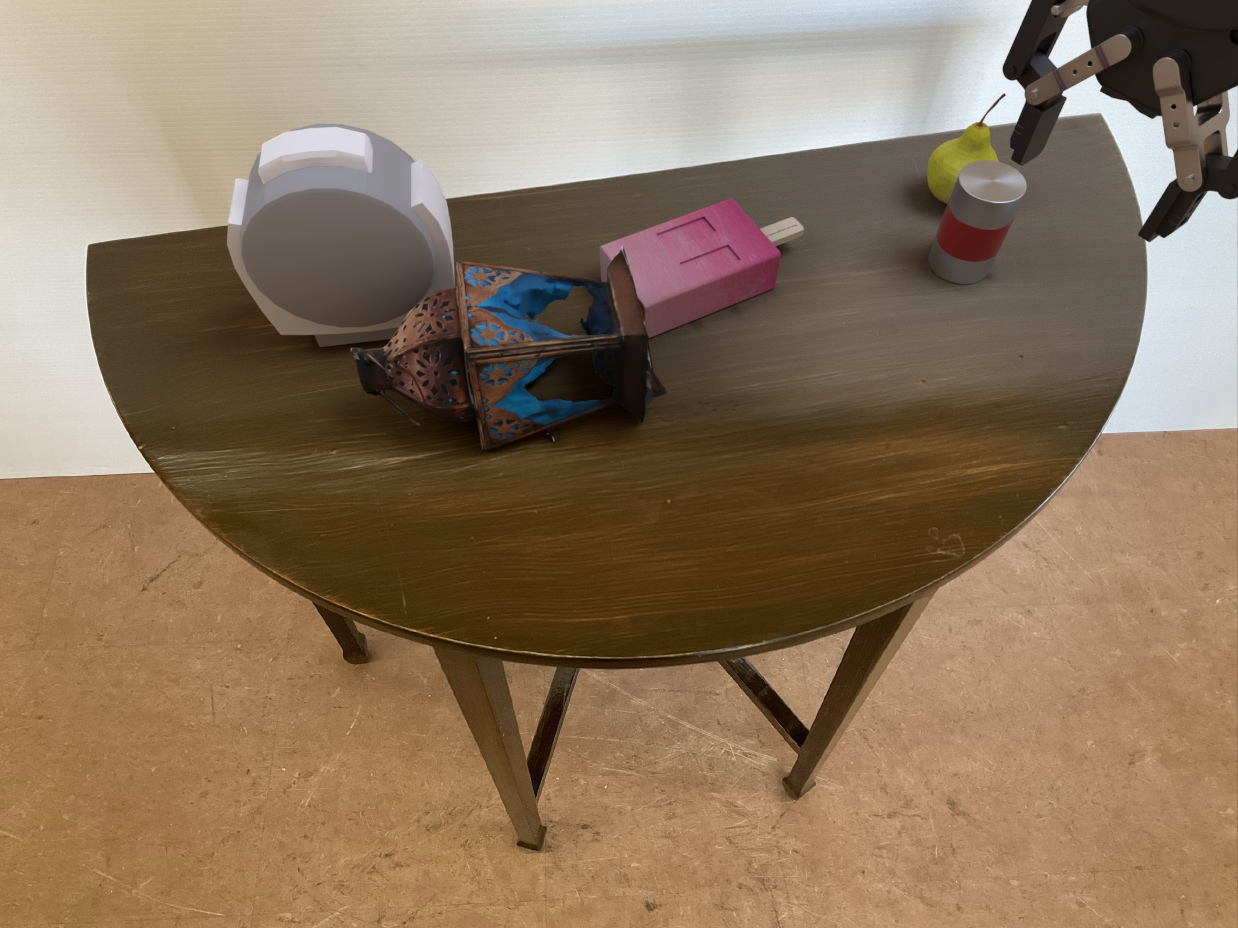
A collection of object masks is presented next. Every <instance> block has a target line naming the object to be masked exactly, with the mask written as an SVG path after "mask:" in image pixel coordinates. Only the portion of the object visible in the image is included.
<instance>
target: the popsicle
mask: <svg viewBox="0 0 1238 928" xmlns="http://www.w3.org/2000/svg"><path fill="white" fill-rule="evenodd" d="M804 229H805V228H804V226H803V224H801V222H800V221H798V219H797V218H796V217H793V216H791V217H788V218H785V219H782V220H779V221H777V222H774V223H772V224H768V225H766V226H763V227H761V228H759V226H758V225H757V224H756V223H755V222H754V221H753V219H751V217H750V216H749V215H748V214H747V213H746V211H744V210H743V208H742V207H741V206H740V205H739V204H738V203H737V201H735V200H734V198H728V199H725V200H723V201H720V202H717V203H714V204H712V205H709V206H706V207H703V208H700V209H698V210H695V211H692V212H689V213H687V214H684V215H682V216H679V217H676V218H674V219H670V220H667V221H665V222H662V223H659V224H657V225H653V226H651V227H649V228H646V229H643V230H639V231H637V232H635V233H632V234H630V235H627V236H624V237H621V238H619V239H616V240H613V241H610V242H607V243H604V244H602V245H600V246H599V266H600V281H603V282H605V281H606V280H607V268H608V266H609V265H610V263H611V261H612V260H613V258H614V257H615V256H616V255H617V254H619V252H620V250H621V247H622V246H623V247H624V250H625V253H626V257H627V261H628V263H629V266H630V269H631V273H632V277H633V280H634V284H635V288H636V293H637V297H638V302H639V305H640V308H641V311H642V315H643V318H644V321H645V326H646V330H647V334H648V337H649V339H651V338H653V337H655V336H659V335H661V334H663V333H666V332H668V331H671V330H673V329H677V328H679V327H681V326H684V325H686V324H688V323H691V322H693V321H696V320H698V319H700V318H703V317H706V316H708V315H711V314H714V313H717V312H718V311H722V310H723V309H726V308H728V307H731V306H734V305H736V304H739V303H741V302H744V301H746V300H748V299H751V298H754V297H755V296H758V295H761V294H763V293H766V292H768V291H770V290H771V291H772V290H773V289H775V288H776V284H777V277H778V273H779V268H780V261H781V257H782V254H781V251H780V250H779V248H777V246H779V245H783V244H786V243H788V242H790V241H793V240H796V239H798V238H801V237H802V236H803V235H804Z"/></svg>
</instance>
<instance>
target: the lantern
mask: <svg viewBox="0 0 1238 928" xmlns="http://www.w3.org/2000/svg"><path fill="white" fill-rule="evenodd" d="M455 272H456V285H455V288H448V289H442V290H438V291H436V292H434V293H432V294H430V295H428V296H427V297H425V298H424V299H423V300H422V301H420V302H419V303H418V304H417V305H416V306H415V307H414V308H413V309H412V310H411V311H410V312H409V313H408V315H407V316H406V318H405V319H404V320H403V321H402V322H401V325H400V327H399V328H398V330H397V331H396V333H395V334H394V336H393V337H392V339H389V341H388V343H387V344H386V345H384V346H383V347H376V348H365V349H364V348H361V347H350V352H351V354H352V356H353V358H354V361H355V365H356V369H357V375H358V380H359V383H360V386H361V388H362V391H364V393H366V394H367V395H372V396H377V397H378V396H380V397H382V398H384V399H385V400H386V401H387V402H388V403H389V404H390V405H391V406H392V407H393V408H394V409H395V410H397V412H399V413H400V414H401V415H402V416H404V417H405V418H406V419H407V420H409V421H410V422H411V423H413V424H414V425H416V426H418V427H421V424H420V422H417V420H415V419H413V418H412V417H411V416H410V415H408V413H407V412H405V411H404V410H403V409H402V408H401V407H400V405H398V404H397V403H395V402H394V401H393V400H392V399H391V398H390V397H389V396H388V395H387V394H386V392H385V391H392V392H394V393H397V394H398V395H400V396H401V397H402V398H405V399H406V400H407V401H409V402H411V403H413V404H415V405H416V406H418V407H420V408H422V409H423V410H425V411H426V412H429V413H430V414H432V415H433V416H435V417H437V418H440V419H443V420H447V421H451V422H456V423H471V422H474V421H475V422H476V421H477V425H478V431H479V437H480V438H479V439H480V445H481V450H483V451H484V452H489V451H493V450H496V449H498V448H501V447H504V446H506V445H509V444H512V443H515V442H516V441H519V440H523V439H525V438H528V437H530V436H531V435H534V434H536V433H539V432H542V431H544V430H545V431H546V435H549V436H550V437H551V441H552V442H554V443H557V434H556V433H555V431H554V429H555V428H556V427H557V426H560V425H562V424H565V423H567V422H571V421H573V420H575V419H576V418H580V417H583V416H585V415H588V414H591V413H594V412H596V411H600V410H602V409H605V408H609V407H612V406H615V405H620V406H622V407H623V408H624V409H625V410H626V411H628V412H630V413H631V414H632V415H633V416H634V417H635V418H636V419H637V420H638V421H639V422H640V423H641V424H643V423H644V420H645V418H646V417H645V415H646V413H647V409H648V407H649V405H650V403H652V401H653V400H654V398H659V397H661V396H664V395H667V394H668V391H667V388H666V387H665V386H664V385H663V384H662V383H661V381H660V379H659V378H658V376H657V375H656V373H655V371H654V365H653V360H652V354H651V348H650V341H649V339H650V338H649V337H648V334H647V330H646V326H645V321H644V318H643V315H642V311H641V308H640V305H639V302H638V297H637V293H636V288H635V284H634V280H633V277H632V273H631V269H630V266H629V263H628V261H627V257H626V253H625V250H624V247H623V246H622V247H621V250H620V252H619V254H617V255H616V256H615V257H614V258H613V260H612V261H611V263H610V265H609V266H608V268H607V280H606V281H605V282H603V281H601V280H598V279H596V278H591V277H590V278H589V277H588V278H587V277H580V276H572V275H568V274H567V275H566V274H557V273H556V272H555V273H554V272H545V271H541V272H539V271H537V270H529V269H523V268H519V267H517V268H516V267H511V266H510V267H509V266H505V265H504V266H503V265H494V264H493V265H491V264H486V263H477V262H470V261H466V260H465V261H464V260H457V261H456V262H455ZM574 287H576V288H579V287H583V288H586V289H587V290H586V292H587V293H588V294H589V295H590V296H591V297H592V303H591V306H588V313H587V316H586V321H584V318H583V317H581V318H580V320H579V324H581V325H580V326H581V328H582V330H583V331H584V333H585V334H570V335H568V334H564V333H563V332H562V333H561V332H560V331H557V330H555V329H553V328H550V327H549V326H547V325H546V324H539V320H540V319H539V317H536V316H538V315H540V314H541V313H543V311H545V310H546V309H547V308H548V307H549V305H550V303H552V302H554V301H566V300H567V299H568V297H569V295H570V293H571V291H572V290H573V288H574ZM527 316H528V318H529V319H530V320H531V321H532V320H534V321H532V322H531V321H530V320H529V319H526V317H527ZM535 317H536V319H535ZM588 353H592V358H591V362H592V365H593V370H594V372H595V374H596V375H597V376H599V377H600V380H601V382H603V383H604V384H605V385H608V386H613V393H612V395H611V396H610V397H609V398H606V399H605V398H604V399H592V400H589V399H588V400H586V401H575V402H573V401H572V400H563V399H561V398H554V399H547V400H538V398H537V397H536V396H534V395H532V394H531V393H530V392H529V390H527V389H526V388H525V387H526V386H527V385H528V386H529V384H531V383H532V382H534V381H535V380H537V378H539V377H540V376H541V375H542V374H544V373H545V372H546V368H548V367H549V366H550V365H551V364H552V363H553V361H554V360H555V359H557V358H565V357H568V356H576V355H580V354H581V355H582V354H588Z"/></svg>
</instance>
